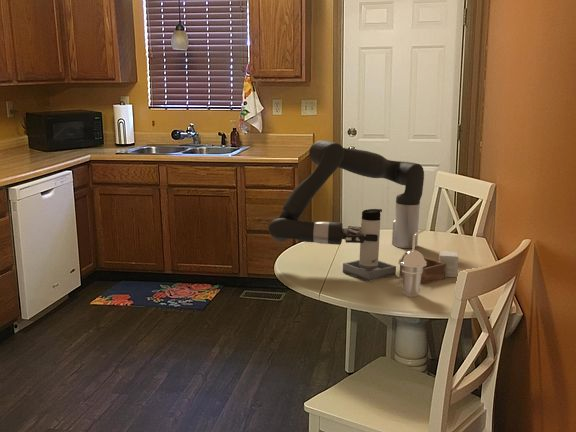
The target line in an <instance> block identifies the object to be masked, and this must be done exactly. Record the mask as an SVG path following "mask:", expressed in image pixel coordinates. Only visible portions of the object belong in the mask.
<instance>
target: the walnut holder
mask: <svg viewBox="0 0 576 432" xmlns="http://www.w3.org/2000/svg"><path fill="white" fill-rule="evenodd" d="M423 257H424V260H425V261H426V263H427V265H426V266H425V267H424V270H423V273H422V277H421V283H420V284H423V285H425V284H428V283H429V284H430V283H432V282H437V281H440V280H444V279H446V277H445V275H446V264H445V263H442V262H439V260H435V259H431V258H428V257H425V256H423ZM399 276H400V277H402V271H401V265H400V264H399Z"/></svg>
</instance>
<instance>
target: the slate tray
mask: <svg viewBox="0 0 576 432" xmlns="http://www.w3.org/2000/svg"><path fill="white" fill-rule="evenodd" d="M359 260H360V259H358V260H353V261H348V262H343V263H342V273H345V274H347V275H350V276H353V277H356V278H358V279H360V280H364V281H367V282H371V281H375V280H381V279H384V278H390V277H391V276H396V273H397V266H396V265H393V264H391V263H386V262H385V261H381V260H378V267H377V268H376V269H363V268H361V267H360V266H359V262H360V261H359Z"/></svg>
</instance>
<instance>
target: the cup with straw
mask: <svg viewBox="0 0 576 432" xmlns="http://www.w3.org/2000/svg"><path fill="white" fill-rule="evenodd" d="M425 231H427V228H422V229H420V230H418V232H416V233H415V234H414V235H413V246H412V248H411V250H407V251H405V252H404V253H403V254H402V256H401V258H400V259H398V261H397V262H398V264H399V266H400V265H401V271H402V276H401V279H402V290H403V295H404V296H406V297H410V298H411V297H418V296H419V292H420V287H421V284H422V283H421V277H422V273H423V270H424V267H425V266H426V265H427V263H426V261H425V260H424V257H425V256H424V255H423V254H422V253H421V252H420V251H418V250H416V247H415V236H416V235H418V236H419V235H420V234H422V233H423V232H425Z"/></svg>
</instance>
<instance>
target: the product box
mask: <svg viewBox="0 0 576 432" xmlns="http://www.w3.org/2000/svg"><path fill="white" fill-rule="evenodd" d="M438 255H439V256H438V262H442V263H445V264H446V275H445V278H446V277H447V278H458V269H459V268H458V267H459V254H458V252H456V251H443V250H440V251H439V254H438Z"/></svg>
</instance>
